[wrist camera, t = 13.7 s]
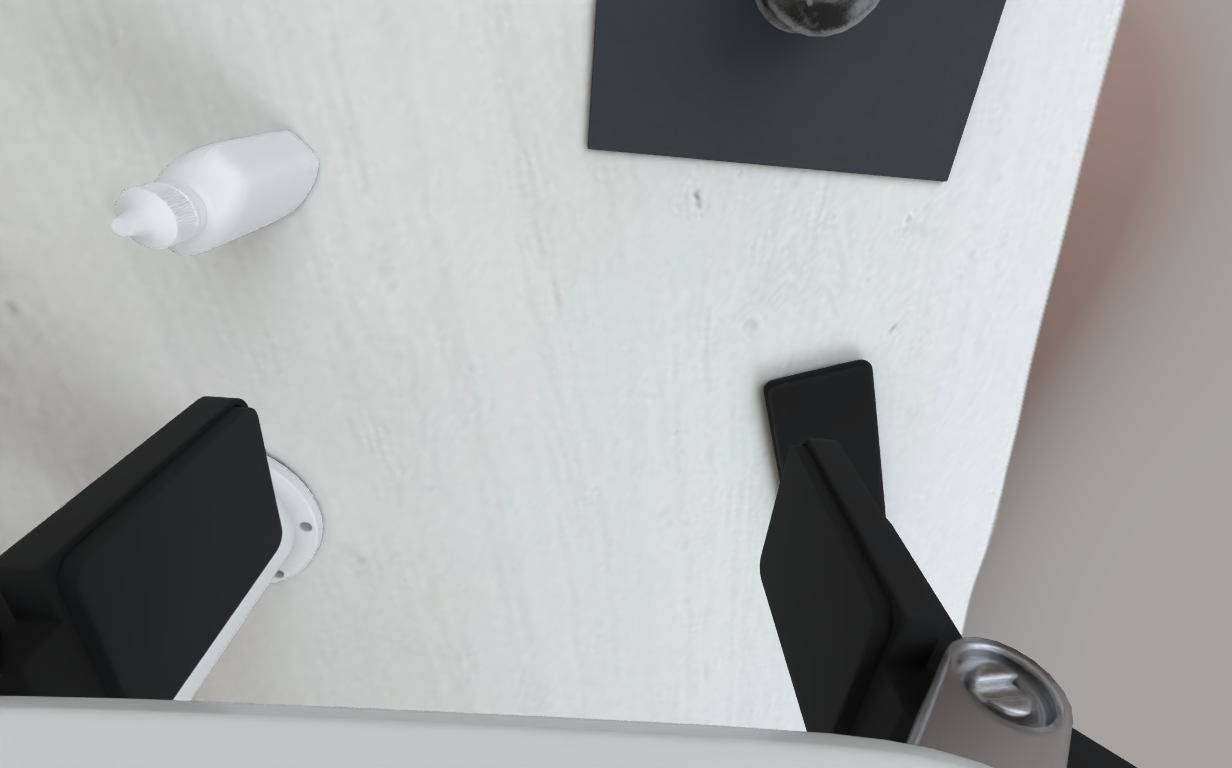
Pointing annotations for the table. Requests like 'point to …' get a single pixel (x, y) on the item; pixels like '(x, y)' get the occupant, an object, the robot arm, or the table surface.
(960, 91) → the mat
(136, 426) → the table surface
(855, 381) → the smartphone
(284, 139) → the eye dropper bottle
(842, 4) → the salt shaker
